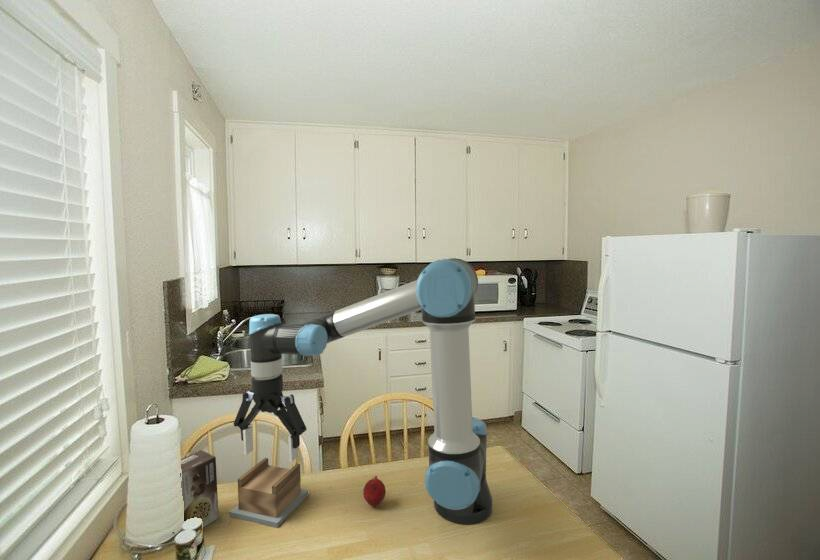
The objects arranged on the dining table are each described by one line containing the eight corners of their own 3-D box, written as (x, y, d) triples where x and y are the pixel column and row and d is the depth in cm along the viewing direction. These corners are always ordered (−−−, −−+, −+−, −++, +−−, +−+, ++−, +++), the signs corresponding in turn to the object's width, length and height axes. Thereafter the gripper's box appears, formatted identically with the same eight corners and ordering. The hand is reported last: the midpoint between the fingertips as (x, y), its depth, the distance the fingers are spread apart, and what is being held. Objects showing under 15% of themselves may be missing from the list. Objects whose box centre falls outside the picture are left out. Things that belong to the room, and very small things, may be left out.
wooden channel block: (300, 492, 111) (300, 464, 110) (276, 518, 100) (275, 486, 100) (265, 485, 114) (265, 457, 113) (238, 509, 104) (237, 479, 103)
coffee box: (203, 509, 105) (201, 449, 104) (219, 518, 102) (217, 455, 101) (167, 530, 98) (164, 465, 96) (183, 540, 94) (180, 473, 93)
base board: (308, 494, 112) (308, 490, 112) (277, 527, 99) (277, 523, 99) (264, 485, 116) (264, 481, 116) (229, 516, 103) (229, 511, 103)
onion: (382, 514, 104) (382, 483, 103) (360, 511, 105) (360, 481, 104) (387, 500, 110) (387, 471, 109) (367, 497, 111) (367, 469, 110)
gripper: (318, 374, 105) (320, 455, 106) (236, 367, 112) (240, 443, 114) (302, 384, 97) (305, 470, 99) (216, 376, 105) (220, 456, 106)
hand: (270, 456), depth 106 cm, fingers open, 13 cm apart
